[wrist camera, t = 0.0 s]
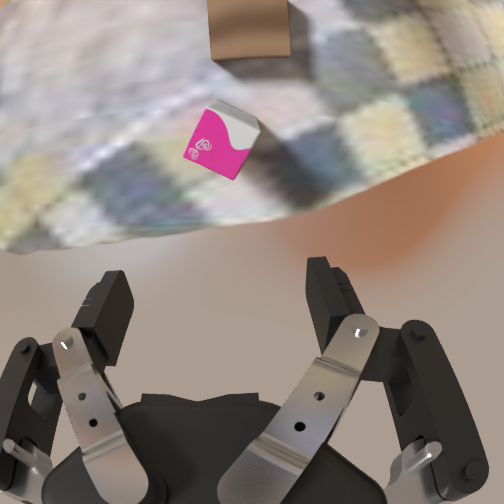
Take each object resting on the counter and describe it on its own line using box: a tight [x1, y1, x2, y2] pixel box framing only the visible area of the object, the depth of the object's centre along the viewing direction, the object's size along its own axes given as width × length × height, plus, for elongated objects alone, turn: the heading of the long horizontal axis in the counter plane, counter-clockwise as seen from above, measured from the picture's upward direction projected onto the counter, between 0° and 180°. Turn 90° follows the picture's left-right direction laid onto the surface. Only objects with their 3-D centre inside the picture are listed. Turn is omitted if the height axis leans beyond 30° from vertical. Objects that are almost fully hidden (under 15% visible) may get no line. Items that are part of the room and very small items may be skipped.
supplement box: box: [183, 99, 261, 180], centre depth 32 cm, size 6×6×12 cm
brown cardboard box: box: [207, 0, 291, 61], centre depth 28 cm, size 9×9×4 cm
